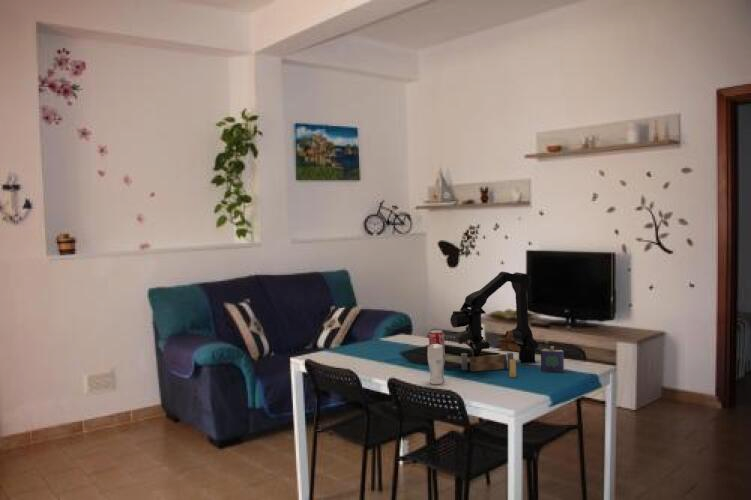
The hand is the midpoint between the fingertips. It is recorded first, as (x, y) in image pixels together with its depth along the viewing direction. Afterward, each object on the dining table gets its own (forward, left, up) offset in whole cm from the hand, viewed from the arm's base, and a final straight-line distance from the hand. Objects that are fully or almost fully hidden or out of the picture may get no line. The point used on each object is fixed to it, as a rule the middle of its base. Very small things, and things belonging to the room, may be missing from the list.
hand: (475, 360), depth 267 cm
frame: (-5, +5, -4) cm, 8 cm away
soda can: (+16, -23, -4) cm, 29 cm away
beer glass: (+16, +17, -4) cm, 24 cm away
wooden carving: (-21, -31, -4) cm, 38 cm away
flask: (-32, +3, -4) cm, 32 cm away
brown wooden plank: (-6, +1, -4) cm, 7 cm away
